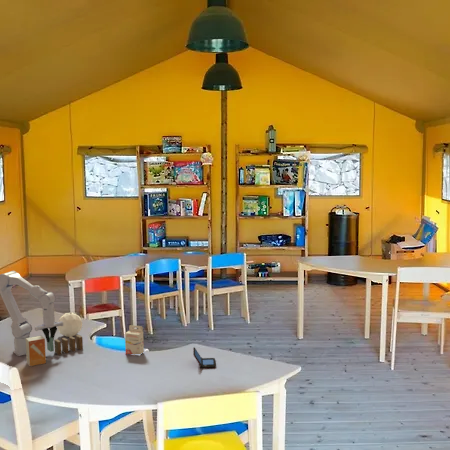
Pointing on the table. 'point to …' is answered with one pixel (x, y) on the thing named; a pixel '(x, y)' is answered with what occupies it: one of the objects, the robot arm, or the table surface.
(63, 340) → the domino
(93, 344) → the table surface
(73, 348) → the domino
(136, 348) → the ink cartridge box
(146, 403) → the table surface
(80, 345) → the domino
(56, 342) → the domino
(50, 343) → the domino
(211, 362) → the handheld game console
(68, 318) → the geodesic sphere
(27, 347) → the small box
